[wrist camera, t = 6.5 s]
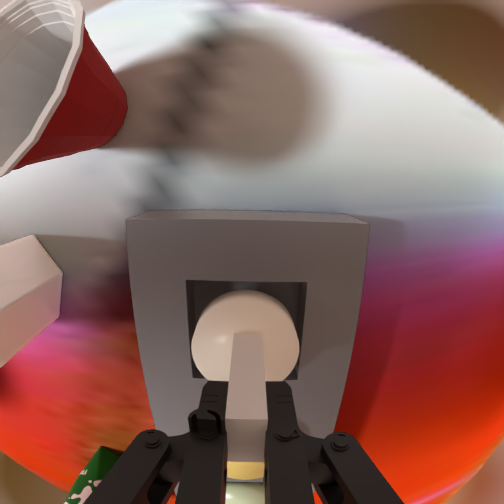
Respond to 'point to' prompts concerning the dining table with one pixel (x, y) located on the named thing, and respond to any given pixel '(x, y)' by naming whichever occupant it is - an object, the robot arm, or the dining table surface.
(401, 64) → the dining table surface
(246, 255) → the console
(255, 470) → the mustard button
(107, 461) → the milk carton
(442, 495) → the dining table surface
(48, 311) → the jar
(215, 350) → the cream button
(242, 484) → the sage button
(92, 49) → the plastic cup
